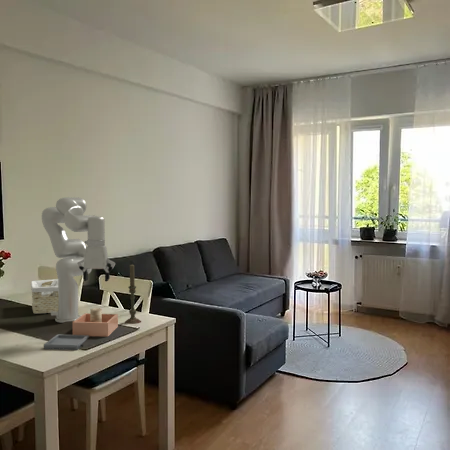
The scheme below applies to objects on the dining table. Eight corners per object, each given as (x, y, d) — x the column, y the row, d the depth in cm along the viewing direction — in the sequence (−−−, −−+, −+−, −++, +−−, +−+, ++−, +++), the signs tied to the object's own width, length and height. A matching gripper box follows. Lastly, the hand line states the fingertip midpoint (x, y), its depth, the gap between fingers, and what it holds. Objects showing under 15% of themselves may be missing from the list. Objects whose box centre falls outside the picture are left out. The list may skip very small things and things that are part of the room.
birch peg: (88, 332, 215) (88, 310, 214) (92, 329, 220) (92, 308, 219) (99, 332, 215) (99, 310, 214) (103, 329, 220) (103, 308, 219)
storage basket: (30, 305, 270) (30, 279, 269) (60, 303, 276) (60, 278, 275) (31, 315, 248) (31, 287, 247) (64, 312, 254) (64, 285, 253)
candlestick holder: (133, 327, 227) (132, 265, 225) (119, 324, 232) (118, 264, 230) (146, 322, 235) (145, 263, 233) (132, 319, 240) (131, 261, 237)
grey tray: (43, 349, 194) (43, 344, 194) (57, 338, 208) (57, 334, 208) (77, 349, 193) (77, 345, 193) (88, 339, 207) (88, 335, 207)
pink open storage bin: (72, 337, 210) (72, 322, 209) (84, 327, 226) (84, 313, 225) (108, 338, 209) (108, 323, 209) (118, 328, 225) (117, 314, 225)
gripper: (74, 244, 212) (74, 281, 213) (112, 244, 211) (112, 282, 212) (80, 242, 219) (80, 279, 220) (117, 243, 218) (117, 279, 219)
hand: (96, 280), depth 216 cm, fingers open, 9 cm apart
